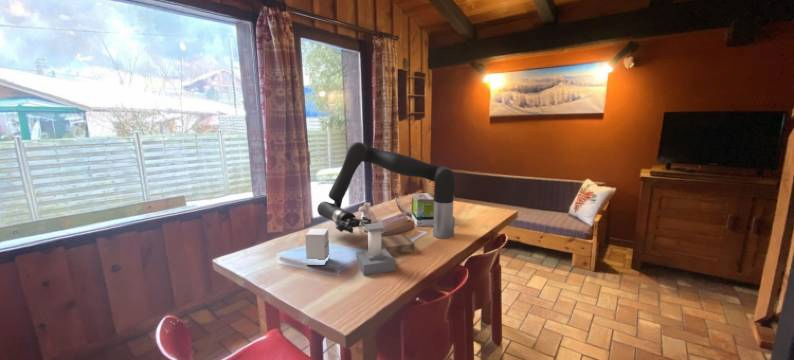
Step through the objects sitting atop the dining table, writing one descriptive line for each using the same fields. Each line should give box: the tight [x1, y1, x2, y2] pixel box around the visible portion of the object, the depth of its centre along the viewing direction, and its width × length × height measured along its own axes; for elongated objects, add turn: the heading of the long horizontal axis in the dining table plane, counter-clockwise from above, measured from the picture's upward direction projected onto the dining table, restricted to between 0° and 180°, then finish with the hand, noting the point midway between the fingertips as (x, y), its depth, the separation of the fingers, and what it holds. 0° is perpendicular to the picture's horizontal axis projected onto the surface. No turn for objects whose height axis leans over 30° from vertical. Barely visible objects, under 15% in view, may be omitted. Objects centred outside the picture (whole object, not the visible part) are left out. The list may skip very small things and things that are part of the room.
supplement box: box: [305, 228, 330, 260], centre depth 126 cm, size 7×7×13 cm
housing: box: [364, 222, 386, 261], centre depth 122 cm, size 6×6×12 cm
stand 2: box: [381, 233, 415, 257], centre depth 140 cm, size 12×12×4 cm
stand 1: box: [355, 249, 396, 277], centre depth 123 cm, size 12×12×4 cm
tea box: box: [411, 192, 434, 227], centre depth 176 cm, size 15×10×15 cm
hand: (361, 228), depth 129 cm, fingers open, 8 cm apart
